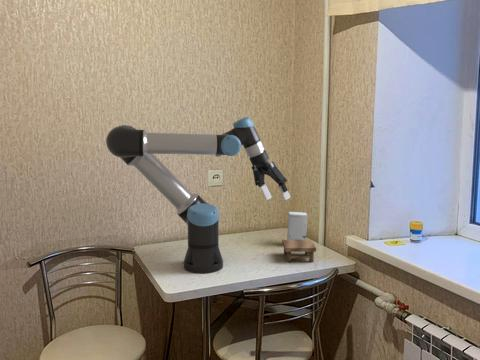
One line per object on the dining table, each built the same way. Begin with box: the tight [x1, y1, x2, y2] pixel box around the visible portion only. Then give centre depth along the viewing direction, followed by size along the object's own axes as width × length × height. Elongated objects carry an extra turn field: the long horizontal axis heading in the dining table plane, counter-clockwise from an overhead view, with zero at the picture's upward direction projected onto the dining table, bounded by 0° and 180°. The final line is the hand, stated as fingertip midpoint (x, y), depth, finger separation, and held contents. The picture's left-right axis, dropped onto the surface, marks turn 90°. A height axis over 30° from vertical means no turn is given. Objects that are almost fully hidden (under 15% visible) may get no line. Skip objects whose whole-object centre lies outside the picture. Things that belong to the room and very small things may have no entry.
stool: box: [281, 239, 317, 263], centre depth 177 cm, size 12×12×6 cm
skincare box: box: [286, 211, 308, 240], centre depth 194 cm, size 8×6×15 cm
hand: (278, 198), depth 182 cm, fingers open, 13 cm apart
